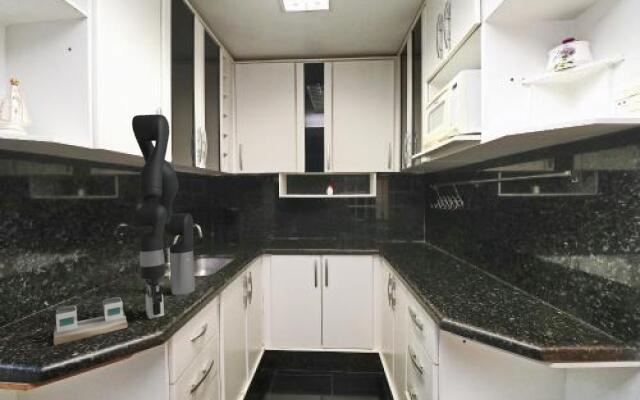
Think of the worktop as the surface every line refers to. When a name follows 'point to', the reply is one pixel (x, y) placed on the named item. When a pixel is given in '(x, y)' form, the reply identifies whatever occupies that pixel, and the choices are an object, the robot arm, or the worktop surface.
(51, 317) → the worktop surface
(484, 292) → the worktop surface
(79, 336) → the rail board
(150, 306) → the block
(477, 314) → the worktop surface
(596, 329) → the worktop surface
